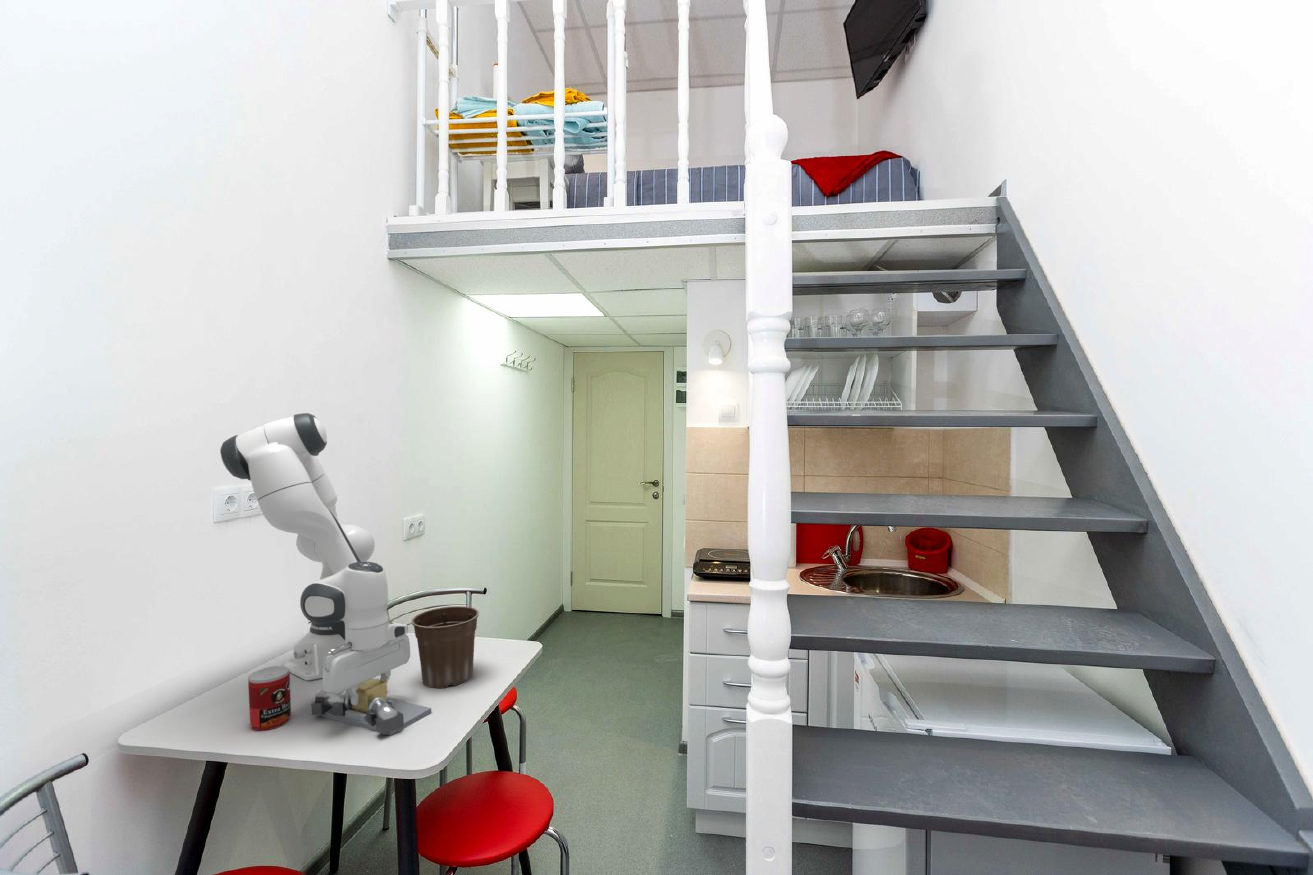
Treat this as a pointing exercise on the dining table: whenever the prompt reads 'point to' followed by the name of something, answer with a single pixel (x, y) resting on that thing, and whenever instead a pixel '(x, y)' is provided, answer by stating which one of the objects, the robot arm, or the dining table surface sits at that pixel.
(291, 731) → the dining table surface
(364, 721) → the grey base plate
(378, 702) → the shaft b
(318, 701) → the shaft
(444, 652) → the plant pot
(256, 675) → the canned food
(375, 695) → the golden yellow cube
